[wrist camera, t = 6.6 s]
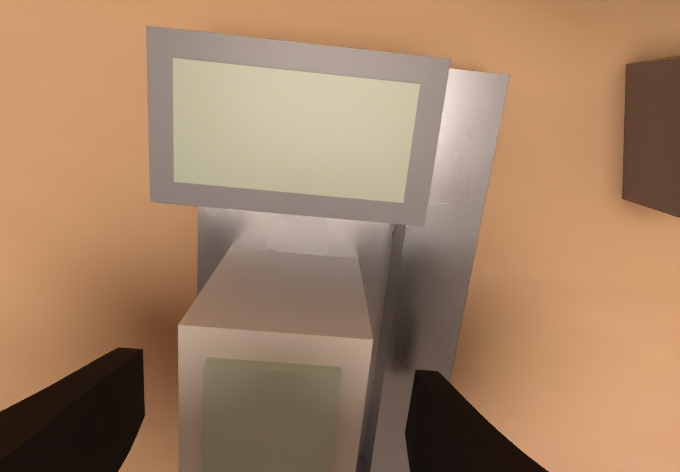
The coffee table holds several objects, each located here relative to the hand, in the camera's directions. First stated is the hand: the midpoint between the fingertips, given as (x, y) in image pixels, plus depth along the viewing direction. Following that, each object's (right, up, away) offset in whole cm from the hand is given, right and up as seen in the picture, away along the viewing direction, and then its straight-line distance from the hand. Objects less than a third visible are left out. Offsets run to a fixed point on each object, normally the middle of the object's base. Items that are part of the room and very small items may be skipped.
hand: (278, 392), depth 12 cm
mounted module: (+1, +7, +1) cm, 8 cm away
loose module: (0, +1, +3) cm, 3 cm away
